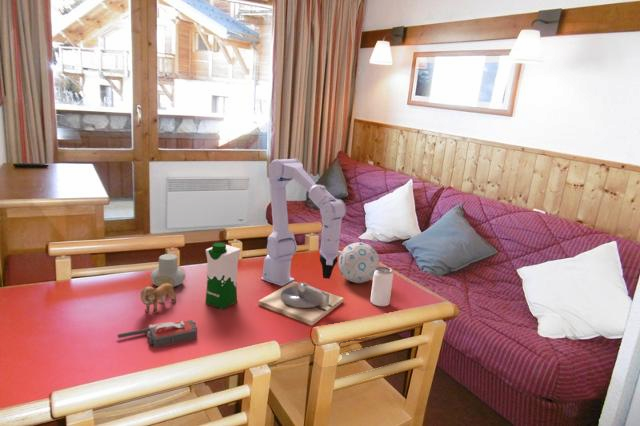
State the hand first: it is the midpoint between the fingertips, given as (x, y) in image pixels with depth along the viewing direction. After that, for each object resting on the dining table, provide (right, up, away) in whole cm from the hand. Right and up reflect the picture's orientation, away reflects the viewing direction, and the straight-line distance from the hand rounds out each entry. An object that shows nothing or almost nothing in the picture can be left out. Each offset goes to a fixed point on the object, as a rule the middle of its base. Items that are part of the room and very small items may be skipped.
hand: (326, 277), depth 144 cm
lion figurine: (-50, -8, -10) cm, 52 cm away
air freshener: (-53, -3, +6) cm, 54 cm away
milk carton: (-33, -8, -3) cm, 34 cm away
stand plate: (-8, -9, +1) cm, 12 cm away
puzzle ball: (+12, -5, +23) cm, 26 cm away
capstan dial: (-7, -7, 0) cm, 10 cm away
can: (+18, -10, +7) cm, 22 cm away
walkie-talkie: (-45, -13, -25) cm, 53 cm away
